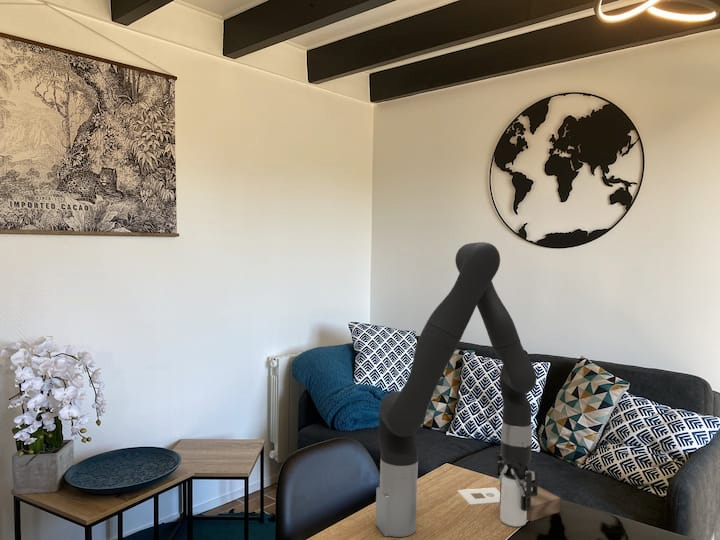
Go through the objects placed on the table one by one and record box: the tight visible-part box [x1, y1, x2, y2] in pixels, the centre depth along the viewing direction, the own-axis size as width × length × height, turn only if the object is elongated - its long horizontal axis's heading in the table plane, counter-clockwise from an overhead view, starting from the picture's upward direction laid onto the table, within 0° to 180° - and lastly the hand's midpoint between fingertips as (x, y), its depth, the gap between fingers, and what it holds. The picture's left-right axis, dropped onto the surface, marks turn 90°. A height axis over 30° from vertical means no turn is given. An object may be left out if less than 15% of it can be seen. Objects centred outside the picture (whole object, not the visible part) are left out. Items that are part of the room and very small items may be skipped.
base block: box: [499, 485, 561, 522], centre depth 147 cm, size 11×11×4 cm
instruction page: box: [456, 486, 500, 506], centre depth 154 cm, size 12×9×1 cm
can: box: [499, 473, 527, 528], centre depth 139 cm, size 6×6×12 cm
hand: (514, 502), depth 139 cm, fingers open, 8 cm apart
